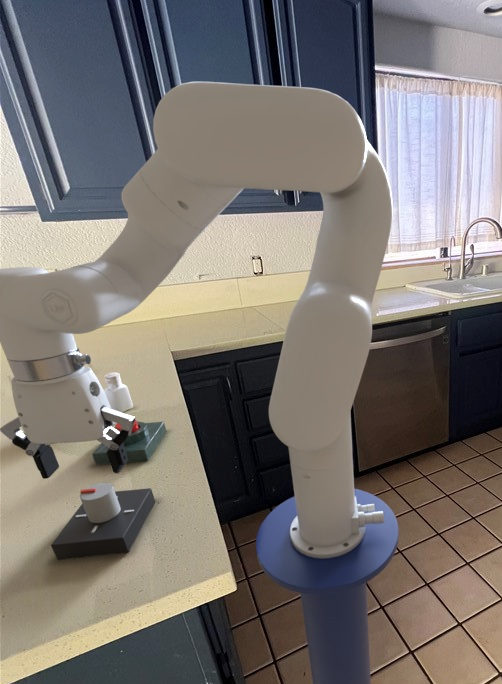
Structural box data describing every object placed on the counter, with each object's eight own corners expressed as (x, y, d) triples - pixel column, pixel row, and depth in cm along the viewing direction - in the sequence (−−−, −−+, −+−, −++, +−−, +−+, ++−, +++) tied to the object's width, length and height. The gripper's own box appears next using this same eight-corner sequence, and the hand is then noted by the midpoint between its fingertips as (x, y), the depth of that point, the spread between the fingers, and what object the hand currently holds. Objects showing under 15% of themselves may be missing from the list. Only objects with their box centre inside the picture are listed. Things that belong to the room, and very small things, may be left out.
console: (166, 431, 98) (162, 414, 96) (148, 460, 87) (142, 441, 85) (120, 435, 97) (114, 417, 95) (95, 465, 86) (88, 446, 84)
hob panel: (155, 501, 75) (151, 487, 74) (128, 552, 65) (122, 536, 63) (95, 507, 74) (89, 492, 73) (57, 560, 63) (49, 544, 62)
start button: (141, 425, 92) (139, 418, 91) (134, 434, 89) (132, 427, 88) (122, 427, 92) (119, 419, 91) (114, 436, 88) (111, 429, 87)
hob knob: (125, 503, 70) (116, 479, 68) (113, 521, 66) (104, 497, 64) (96, 506, 70) (87, 482, 68) (83, 524, 66) (73, 499, 64)
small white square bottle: (125, 404, 111) (114, 370, 107) (134, 407, 109) (124, 373, 105) (110, 411, 108) (98, 376, 104) (119, 414, 106) (108, 379, 102)
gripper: (127, 352, 61) (155, 453, 69) (-5, 358, 59) (38, 461, 67) (104, 371, 55) (137, 480, 62) (-46, 378, 53) (7, 491, 60)
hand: (86, 470), depth 64 cm, fingers open, 9 cm apart
